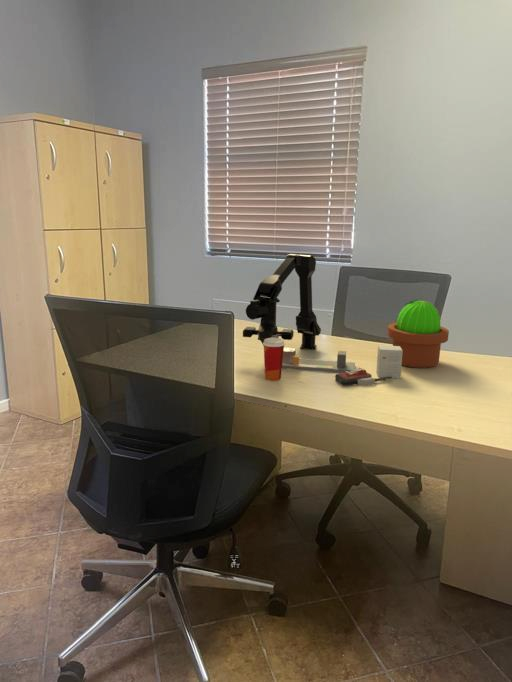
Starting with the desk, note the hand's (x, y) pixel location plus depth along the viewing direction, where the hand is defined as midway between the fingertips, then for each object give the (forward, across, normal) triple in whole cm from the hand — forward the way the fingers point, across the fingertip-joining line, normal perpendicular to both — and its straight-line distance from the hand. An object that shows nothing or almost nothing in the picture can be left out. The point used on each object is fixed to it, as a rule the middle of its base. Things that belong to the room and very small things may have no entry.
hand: (267, 354), depth 200 cm
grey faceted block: (+2, +8, -1) cm, 8 cm away
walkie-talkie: (+4, +36, -12) cm, 38 cm away
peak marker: (+1, +11, -4) cm, 12 cm away
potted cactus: (+4, +56, +16) cm, 58 cm away
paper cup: (+4, +5, -17) cm, 18 cm away
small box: (+4, +45, -4) cm, 45 cm away
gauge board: (+3, +18, 0) cm, 18 cm away
